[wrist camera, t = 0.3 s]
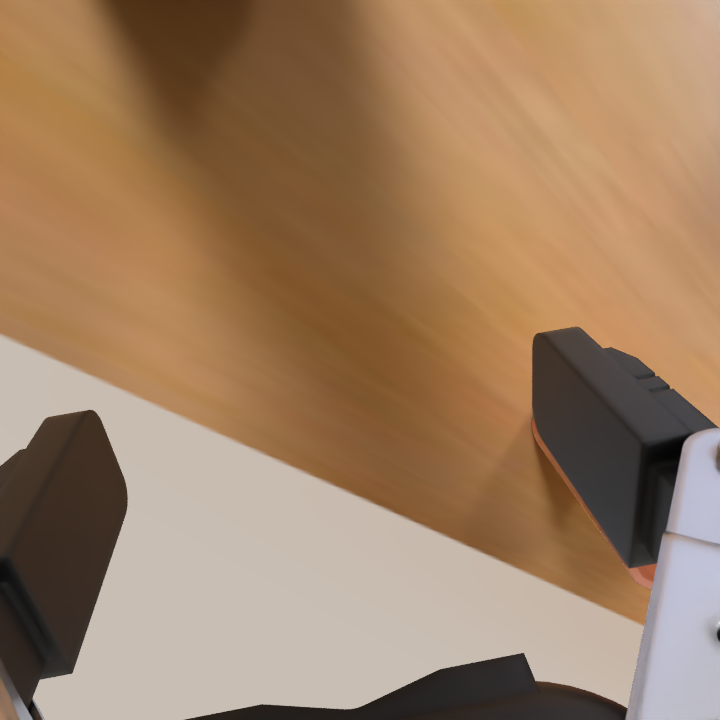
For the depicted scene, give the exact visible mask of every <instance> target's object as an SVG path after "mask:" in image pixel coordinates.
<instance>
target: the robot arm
mask: <svg viewBox="0 0 720 720" xmlns="http://www.w3.org/2000/svg"><path fill="white" fill-rule="evenodd" d="M532 407H533V416H534V421H535V425H536V428H537V431H538V433H539V435H540V437H541V439H542V441H543V442H544V444H545V445H546V447H547V448H548V450H549V451H550V453H551V454H552V456H553V457H554V458H555V460H556V461H557V463H558V464H559V466H560V467H561V469H562V470H563V472H564V473H565V475H566V476H567V478H568V479H569V481H570V482H571V484H572V485H573V487H574V488H575V489H576V491H577V492H578V494H579V495H580V497H581V498H582V500H583V501H584V503H585V504H586V506H587V507H588V509H589V510H590V512H591V513H592V515H593V516H594V518H595V519H596V520H597V522H598V523H599V525H600V526H601V528H602V529H603V531H604V532H605V534H606V535H607V537H608V538H609V540H610V541H611V543H612V544H613V546H614V547H615V549H616V550H617V552H618V553H619V554H620V556H621V557H622V559H623V560H624V562H625V563H626V565H627V566H628V568H629V569H630V568H635V567H640V566H646V565H651V564H656V563H657V566H656V571H655V576H654V581H653V586H652V591H651V596H650V601H649V606H648V611H647V615H646V620H645V625H644V630H643V635H642V640H641V646H640V650H639V655H638V660H637V666H636V670H635V675H634V681H633V685H632V690H631V695H630V700H629V705H628V708H626V707H624V706H622V705H620V704H618V703H616V702H614V701H612V700H610V699H607V698H604V697H602V696H600V695H597V694H595V693H592V692H589V691H586V690H582V689H579V688H575V687H572V686H567V685H561V684H556V683H550V682H539V681H535V679H534V677H533V674H532V672H531V669H530V667H529V665H528V662H527V660H526V657H525V655H524V653H521V654H516V655H511V656H506V657H501V658H496V659H491V660H485V661H481V662H476V663H470V664H465V665H460V666H455V667H450V668H445V669H440V670H438V671H436V672H433V673H432V674H429V675H427V676H425V677H423V678H421V679H419V680H417V681H414V682H412V683H410V684H408V685H406V686H404V687H402V688H400V689H398V690H396V691H393V692H391V693H389V694H387V695H385V696H383V697H381V698H379V699H377V700H375V701H372V702H370V703H368V704H366V705H364V706H361V707H359V708H355V709H347V710H346V709H345V710H344V709H327V708H310V707H294V706H279V705H263V704H262V705H257V706H252V707H247V708H242V709H237V710H232V711H226V712H222V713H216V714H211V715H206V716H201V717H196V718H191V719H186V720H720V428H718V427H717V426H716V425H715V424H714V423H713V422H711V421H710V420H709V419H708V418H707V417H706V416H704V415H703V414H702V413H701V412H700V411H699V410H697V409H696V408H695V407H694V406H693V405H692V404H690V403H689V402H688V401H687V400H686V399H684V398H683V397H682V396H681V395H680V394H679V393H677V392H676V391H675V390H674V389H670V387H669V385H668V384H667V383H666V382H665V381H663V380H662V379H661V378H660V377H659V376H655V373H654V372H653V371H652V370H650V369H649V368H648V367H647V366H646V365H645V364H643V363H642V362H641V361H640V360H639V359H638V358H636V357H633V356H631V355H628V354H626V353H624V352H621V351H619V350H616V349H614V348H612V347H610V348H604V349H603V348H602V347H601V346H600V345H598V344H597V343H596V342H595V341H594V340H593V339H592V338H591V337H590V336H589V335H588V334H586V333H585V332H584V331H583V330H582V329H581V328H579V327H571V328H566V329H560V330H554V331H548V332H542V333H537V334H536V335H535V337H534V340H533V348H532ZM127 499H128V498H127V488H126V483H125V480H124V477H123V474H122V472H121V469H120V467H119V464H118V462H117V459H116V457H115V454H114V452H113V449H112V446H111V444H110V442H109V439H108V437H107V434H106V431H105V429H104V427H103V424H102V421H101V419H100V417H99V416H98V415H97V413H96V412H95V411H93V410H87V411H81V412H75V413H69V414H64V415H58V416H52V417H48V418H46V419H45V420H44V421H43V423H42V424H41V426H40V427H39V429H38V431H37V432H36V434H35V435H34V437H33V438H32V440H31V442H30V443H29V445H28V446H27V448H26V449H23V450H19V451H18V452H17V453H16V454H14V455H13V456H12V457H11V458H10V459H9V460H7V461H6V462H5V463H4V464H3V465H1V466H0V720H45V719H44V717H43V715H42V713H41V711H40V709H39V708H38V706H37V704H36V703H35V701H34V700H33V695H34V692H35V690H36V687H37V685H38V682H39V680H40V679H45V678H51V677H56V676H61V675H66V674H72V673H73V670H74V667H75V664H76V661H77V658H78V655H79V652H80V649H81V646H82V643H83V640H84V637H85V634H86V631H87V628H88V625H89V622H90V619H91V616H92V613H93V610H94V607H95V604H96V601H97V598H98V595H99V592H100V589H101V586H102V583H103V580H104V577H105V574H106V571H107V568H108V565H109V562H110V559H111V557H112V554H113V550H114V548H115V545H116V542H117V539H118V536H119V533H120V530H121V527H122V524H123V521H124V518H125V515H126V511H127Z"/></svg>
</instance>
